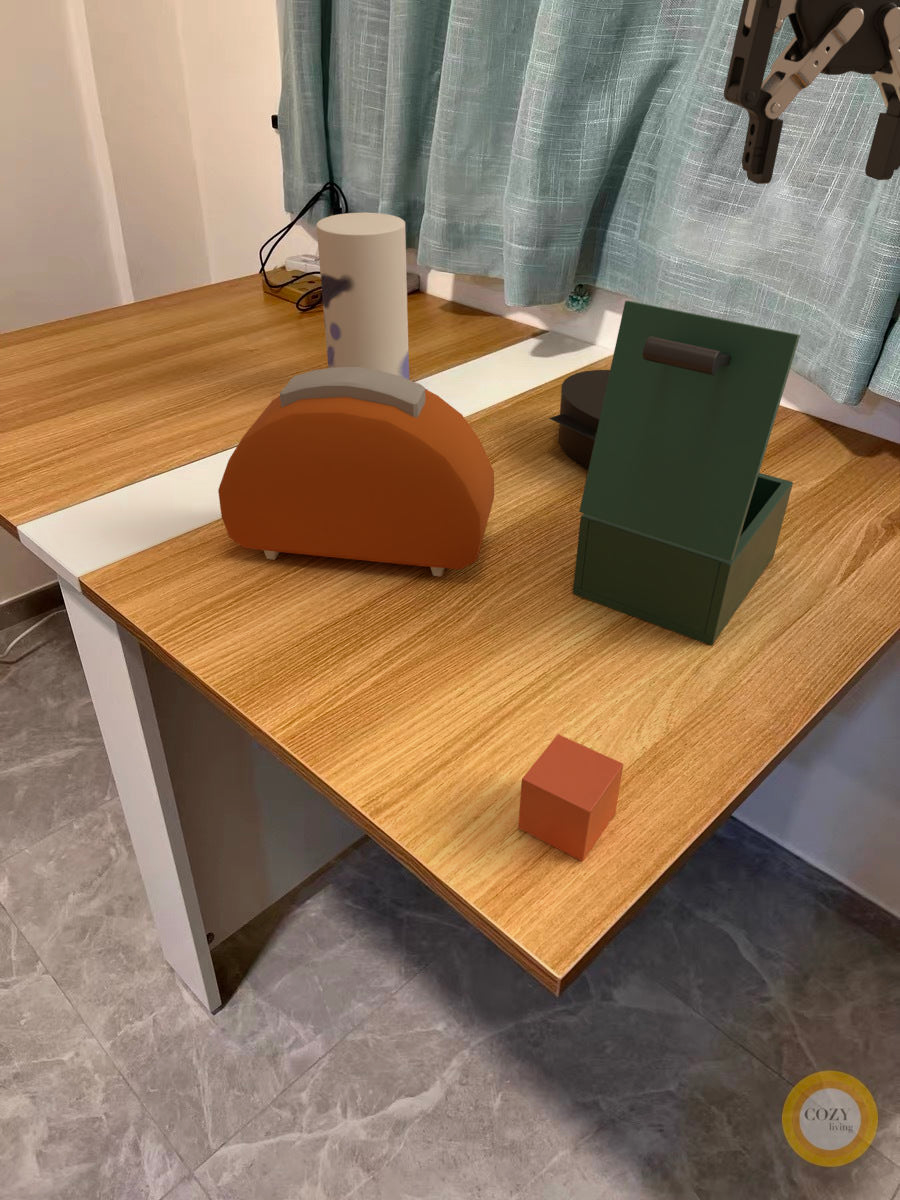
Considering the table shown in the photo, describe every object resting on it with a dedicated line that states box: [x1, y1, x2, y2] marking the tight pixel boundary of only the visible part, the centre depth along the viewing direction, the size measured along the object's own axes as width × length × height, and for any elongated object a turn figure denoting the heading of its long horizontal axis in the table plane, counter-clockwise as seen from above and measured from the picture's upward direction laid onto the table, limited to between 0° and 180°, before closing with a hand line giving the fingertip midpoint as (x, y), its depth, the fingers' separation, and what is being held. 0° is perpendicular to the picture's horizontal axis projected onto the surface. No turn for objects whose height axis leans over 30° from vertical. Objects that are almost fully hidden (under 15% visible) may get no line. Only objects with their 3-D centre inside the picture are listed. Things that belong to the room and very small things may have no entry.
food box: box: [572, 472, 794, 646], centre depth 77 cm, size 16×13×8 cm
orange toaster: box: [217, 367, 495, 578], centre depth 78 cm, size 23×9×17 cm, turn 80°
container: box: [316, 212, 410, 380], centre depth 106 cm, size 10×10×20 cm
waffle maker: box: [548, 369, 610, 471], centre depth 96 cm, size 14×18×8 cm
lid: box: [578, 300, 801, 561], centre depth 64 cm, size 16×13×5 cm
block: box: [517, 733, 624, 862], centre depth 55 cm, size 5×5×5 cm
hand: (818, 179), depth 58 cm, fingers open, 8 cm apart
